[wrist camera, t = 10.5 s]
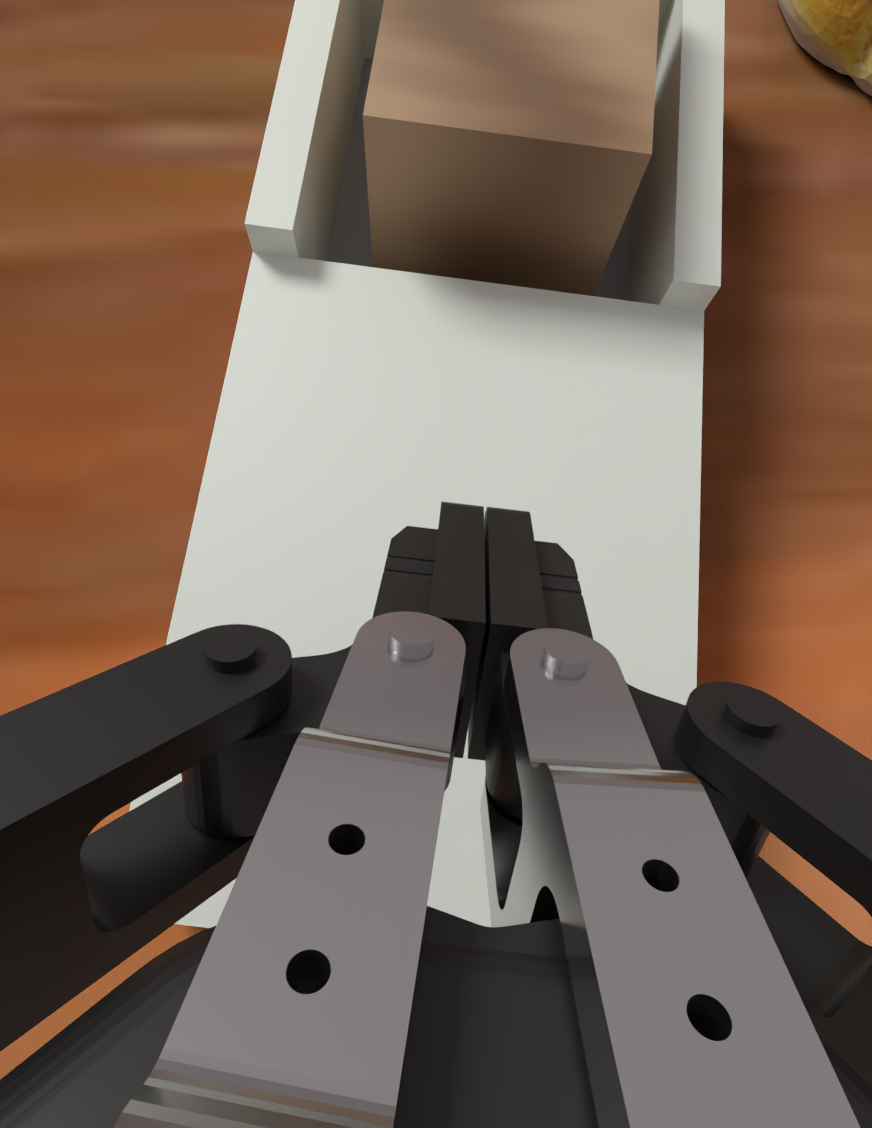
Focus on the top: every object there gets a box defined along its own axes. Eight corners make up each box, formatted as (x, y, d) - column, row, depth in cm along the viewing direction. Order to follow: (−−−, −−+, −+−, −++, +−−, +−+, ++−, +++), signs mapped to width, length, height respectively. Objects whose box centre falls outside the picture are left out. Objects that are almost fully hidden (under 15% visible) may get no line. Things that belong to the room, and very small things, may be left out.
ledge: (163, 883, 17) (106, 915, 14) (276, 329, 22) (253, 251, 18) (635, 939, 18) (690, 985, 14) (657, 378, 22) (704, 310, 18)
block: (362, 115, 15) (409, -136, 17) (374, 298, 22) (408, 97, 24) (651, 153, 15) (664, -101, 18) (580, 325, 22) (596, 123, 24)
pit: (276, 329, 22) (244, 223, 17) (337, 31, 25) (323, -122, 20) (657, 378, 22) (721, 286, 17) (669, 76, 25) (725, -66, 21)
